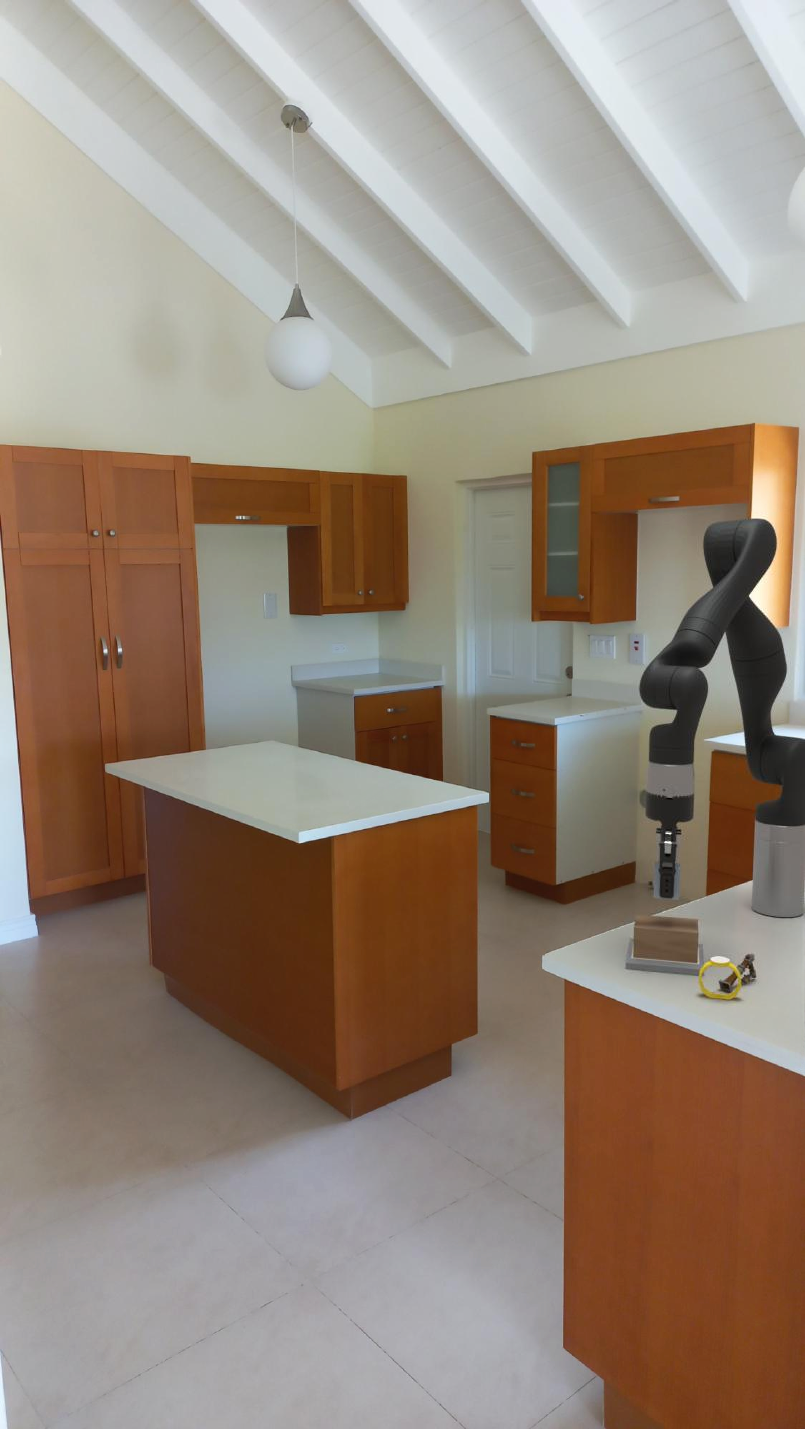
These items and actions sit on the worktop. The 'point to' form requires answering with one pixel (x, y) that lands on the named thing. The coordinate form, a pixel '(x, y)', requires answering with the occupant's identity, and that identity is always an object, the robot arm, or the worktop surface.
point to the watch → (720, 962)
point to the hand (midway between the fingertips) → (666, 892)
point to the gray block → (676, 880)
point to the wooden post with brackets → (741, 968)
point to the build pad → (664, 963)
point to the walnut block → (666, 938)
